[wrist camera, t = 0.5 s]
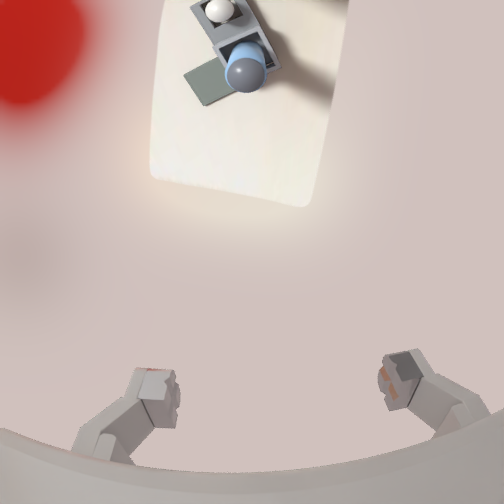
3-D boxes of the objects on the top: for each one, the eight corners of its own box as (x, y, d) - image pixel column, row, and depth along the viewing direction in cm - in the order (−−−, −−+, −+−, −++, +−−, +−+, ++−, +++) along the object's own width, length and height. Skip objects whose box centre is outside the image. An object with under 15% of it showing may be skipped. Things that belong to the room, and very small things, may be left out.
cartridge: (226, 48, 40) (216, 67, 30) (254, 35, 38) (255, 49, 29) (240, 72, 43) (236, 101, 34) (268, 60, 42) (274, 84, 32)
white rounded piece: (203, 5, 34) (200, 6, 32) (226, -6, 33) (225, -6, 31) (215, 24, 37) (213, 26, 35) (238, 14, 35) (237, 15, 33)
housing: (191, 6, 36) (186, 7, 33) (236, -15, 33) (235, -17, 30) (237, 80, 46) (235, 87, 43) (279, 61, 44) (281, 67, 41)
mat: (184, 74, 45) (183, 75, 45) (219, 56, 43) (219, 56, 42) (203, 105, 50) (203, 106, 49) (238, 88, 47) (238, 89, 47)
